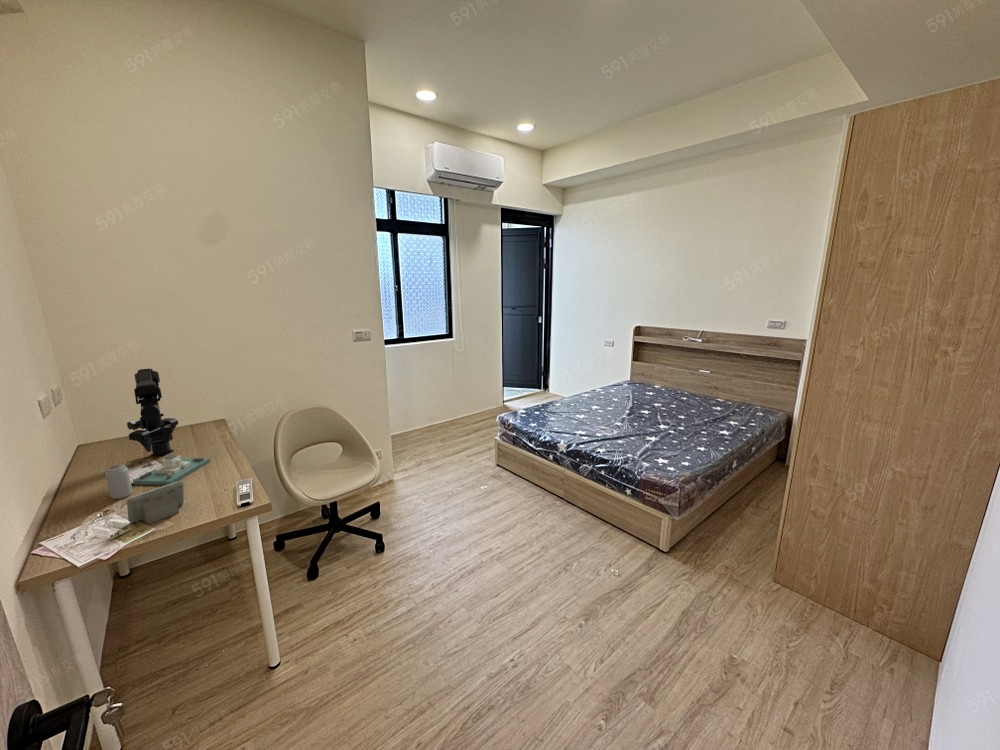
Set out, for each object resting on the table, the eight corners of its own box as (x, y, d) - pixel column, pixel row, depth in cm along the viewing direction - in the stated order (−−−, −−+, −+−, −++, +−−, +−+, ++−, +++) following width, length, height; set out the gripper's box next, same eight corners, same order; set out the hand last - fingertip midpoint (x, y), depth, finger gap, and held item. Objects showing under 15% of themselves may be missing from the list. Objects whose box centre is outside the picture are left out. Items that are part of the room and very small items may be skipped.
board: (177, 461, 188) (175, 454, 187) (210, 461, 187) (209, 455, 186) (133, 484, 166) (131, 476, 166) (171, 485, 166) (169, 477, 165)
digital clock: (185, 502, 153) (180, 476, 151) (190, 511, 147) (185, 484, 145) (128, 519, 142) (122, 492, 140) (130, 530, 136) (124, 501, 133)
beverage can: (129, 490, 162) (123, 462, 159) (135, 494, 158) (129, 466, 156) (108, 497, 156) (101, 468, 154) (114, 501, 153) (107, 472, 150)
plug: (173, 470, 179) (170, 454, 177) (185, 470, 179) (182, 454, 177) (164, 474, 175) (161, 458, 173) (177, 474, 174) (174, 459, 173)
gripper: (151, 405, 180) (157, 438, 184) (111, 420, 162) (119, 456, 166) (176, 406, 180) (182, 439, 184) (139, 421, 162) (146, 456, 165)
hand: (158, 447), depth 175 cm, fingers open, 9 cm apart
